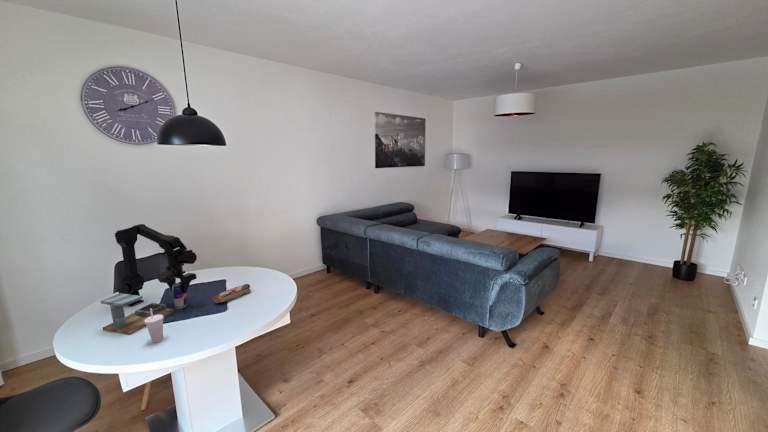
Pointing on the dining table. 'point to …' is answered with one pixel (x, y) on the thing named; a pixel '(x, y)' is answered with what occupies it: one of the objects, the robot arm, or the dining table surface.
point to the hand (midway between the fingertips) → (179, 292)
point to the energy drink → (179, 296)
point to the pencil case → (231, 293)
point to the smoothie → (155, 326)
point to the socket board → (133, 320)
